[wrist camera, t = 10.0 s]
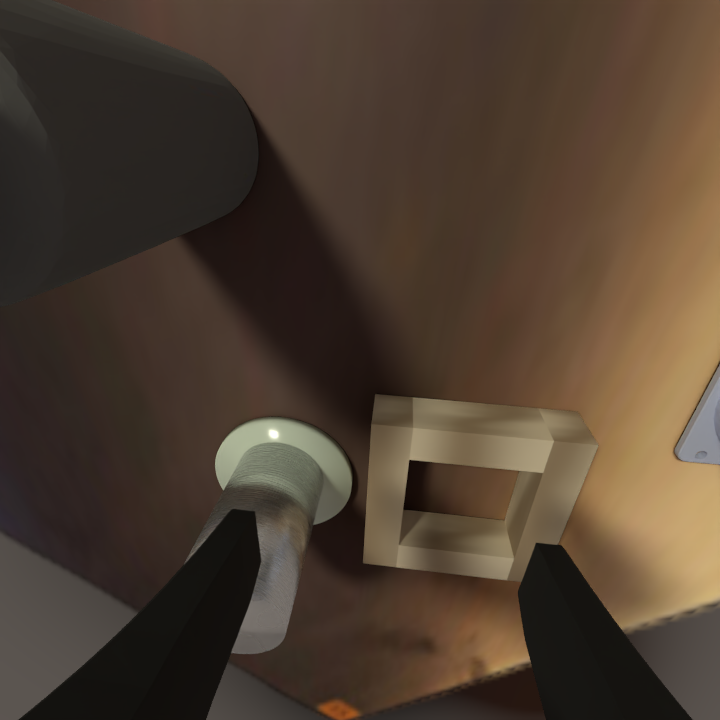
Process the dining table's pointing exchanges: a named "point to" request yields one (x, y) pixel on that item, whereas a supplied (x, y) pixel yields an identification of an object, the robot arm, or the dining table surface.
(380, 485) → the collar
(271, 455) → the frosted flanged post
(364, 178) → the dining table surface
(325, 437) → the coaster
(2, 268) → the bottle
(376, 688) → the dining table surface
